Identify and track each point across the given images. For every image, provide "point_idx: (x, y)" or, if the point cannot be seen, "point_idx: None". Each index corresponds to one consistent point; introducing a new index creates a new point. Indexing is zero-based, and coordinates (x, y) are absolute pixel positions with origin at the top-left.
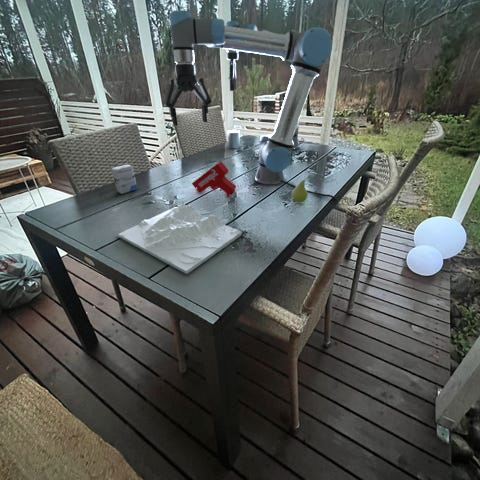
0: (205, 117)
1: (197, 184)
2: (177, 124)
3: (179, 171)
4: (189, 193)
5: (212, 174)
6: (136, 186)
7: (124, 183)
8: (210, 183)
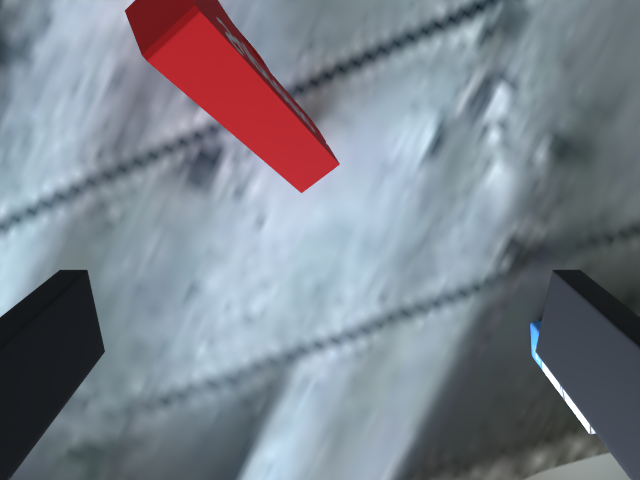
0: (42, 305)
1: (319, 137)
2: (560, 275)
3: (279, 421)
4: (359, 149)
5: (244, 52)
6: (539, 328)
7: None
8: (264, 68)
